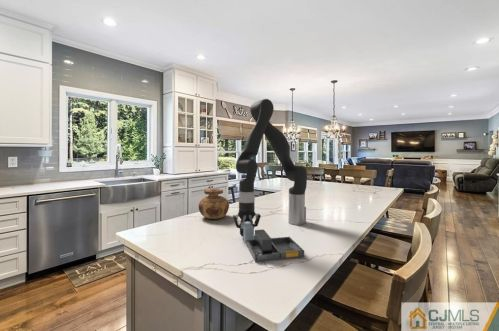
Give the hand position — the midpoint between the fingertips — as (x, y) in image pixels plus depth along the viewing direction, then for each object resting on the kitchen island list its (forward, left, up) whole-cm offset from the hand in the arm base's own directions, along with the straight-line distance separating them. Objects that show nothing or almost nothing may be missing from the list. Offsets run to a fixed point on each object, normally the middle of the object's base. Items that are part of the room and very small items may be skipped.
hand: (246, 235), depth 119 cm
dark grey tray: (-8, +18, -1) cm, 20 cm away
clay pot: (+13, -39, -1) cm, 41 cm away
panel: (0, 0, -1) cm, 1 cm away
